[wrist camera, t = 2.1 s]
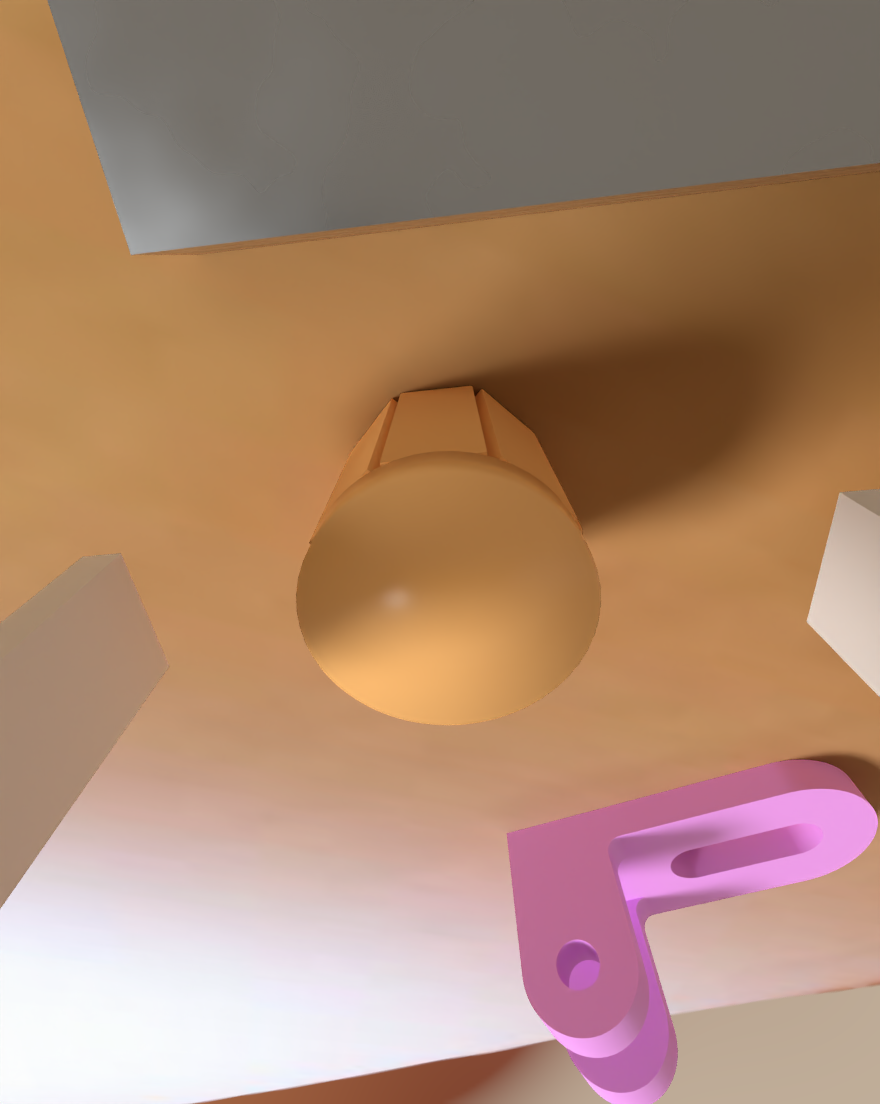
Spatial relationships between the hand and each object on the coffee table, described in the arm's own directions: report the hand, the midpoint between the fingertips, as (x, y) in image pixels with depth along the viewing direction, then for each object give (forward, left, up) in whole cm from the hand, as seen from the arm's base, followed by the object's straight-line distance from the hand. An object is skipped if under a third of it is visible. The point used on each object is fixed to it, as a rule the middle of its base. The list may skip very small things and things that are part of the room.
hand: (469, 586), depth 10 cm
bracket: (+8, -16, -6) cm, 18 cm away
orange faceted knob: (0, 0, -5) cm, 5 cm away
